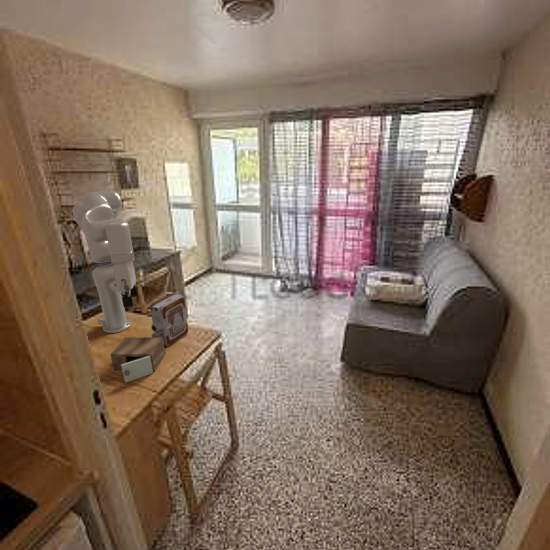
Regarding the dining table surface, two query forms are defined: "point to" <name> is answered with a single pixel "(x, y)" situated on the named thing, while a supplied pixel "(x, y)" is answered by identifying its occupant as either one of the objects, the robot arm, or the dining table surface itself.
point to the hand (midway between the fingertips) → (131, 301)
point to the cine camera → (169, 319)
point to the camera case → (138, 351)
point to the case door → (137, 369)
